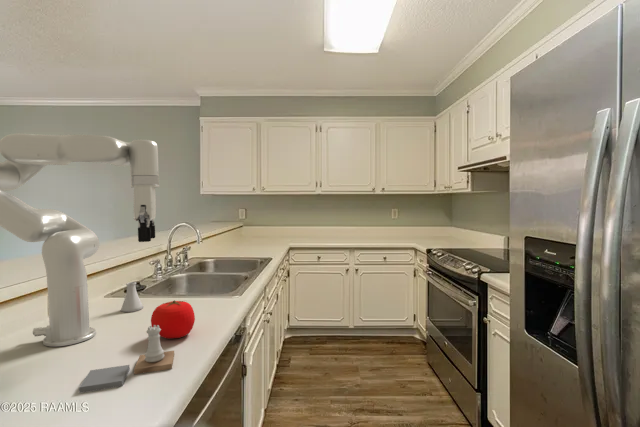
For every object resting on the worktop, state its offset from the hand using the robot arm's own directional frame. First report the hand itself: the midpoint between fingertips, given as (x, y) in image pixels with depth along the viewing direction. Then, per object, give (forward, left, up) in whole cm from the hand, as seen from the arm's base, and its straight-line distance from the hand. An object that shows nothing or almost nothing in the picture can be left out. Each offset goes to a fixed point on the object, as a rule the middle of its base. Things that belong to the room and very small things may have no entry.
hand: (147, 239), depth 107 cm
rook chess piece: (+4, -23, -27) cm, 36 cm away
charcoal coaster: (-5, -28, -28) cm, 40 cm away
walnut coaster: (+4, -23, -28) cm, 37 cm away
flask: (-10, +29, -29) cm, 42 cm away
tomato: (+7, -5, -28) cm, 30 cm away
